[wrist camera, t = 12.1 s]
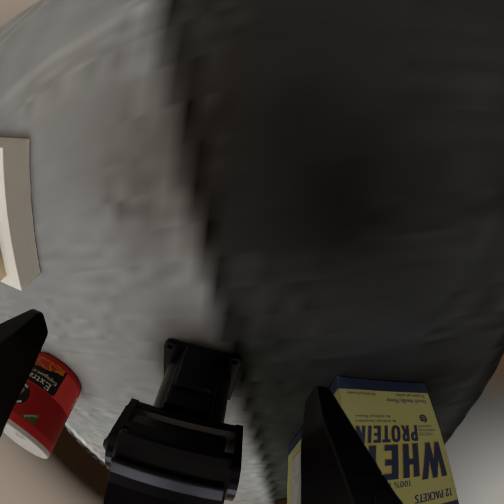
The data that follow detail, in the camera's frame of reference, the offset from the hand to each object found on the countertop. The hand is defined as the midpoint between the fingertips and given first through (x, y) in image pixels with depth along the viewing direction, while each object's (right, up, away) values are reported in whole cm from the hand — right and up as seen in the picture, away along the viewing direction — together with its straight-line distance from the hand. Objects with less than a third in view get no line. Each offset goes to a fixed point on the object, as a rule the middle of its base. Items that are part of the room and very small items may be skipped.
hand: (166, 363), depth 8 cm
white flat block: (-20, +8, +11) cm, 24 cm away
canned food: (-22, -12, +22) cm, 33 cm away
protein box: (+14, -15, +21) cm, 29 cm away
